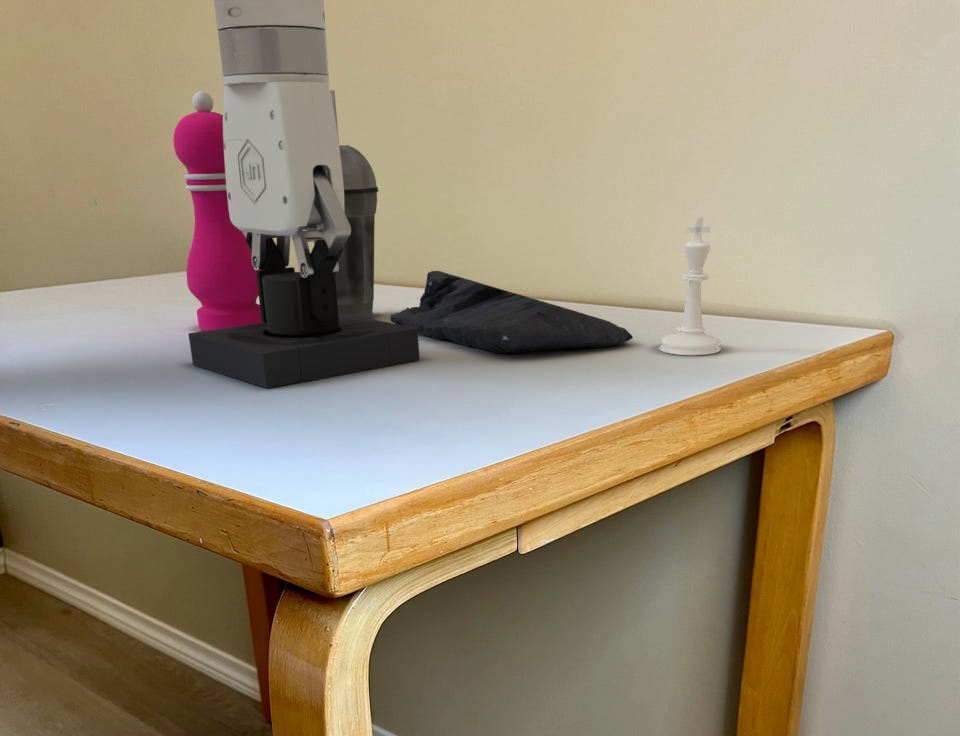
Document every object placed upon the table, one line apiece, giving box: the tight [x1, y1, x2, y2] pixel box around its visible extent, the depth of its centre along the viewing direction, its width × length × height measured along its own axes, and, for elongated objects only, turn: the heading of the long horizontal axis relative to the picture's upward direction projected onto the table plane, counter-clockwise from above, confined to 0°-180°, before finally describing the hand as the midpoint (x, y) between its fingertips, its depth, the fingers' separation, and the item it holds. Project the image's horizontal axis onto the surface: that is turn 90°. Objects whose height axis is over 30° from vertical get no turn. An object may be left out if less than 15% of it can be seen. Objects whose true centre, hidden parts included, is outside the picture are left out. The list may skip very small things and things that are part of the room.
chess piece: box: [659, 216, 722, 356], centre depth 80 cm, size 5×5×10 cm
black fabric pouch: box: [389, 270, 634, 354], centre depth 89 cm, size 15×22×5 cm
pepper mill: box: [172, 90, 264, 331], centre depth 93 cm, size 7×7×20 cm
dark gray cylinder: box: [262, 271, 332, 335], centre depth 79 cm, size 5×5×4 cm
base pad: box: [188, 313, 420, 389], centre depth 81 cm, size 14×12×2 cm
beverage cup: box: [313, 89, 379, 319], centre depth 96 cm, size 7×7×20 cm
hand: (299, 323), depth 80 cm, fingers closed on dark gray cylinder, 5 cm apart
